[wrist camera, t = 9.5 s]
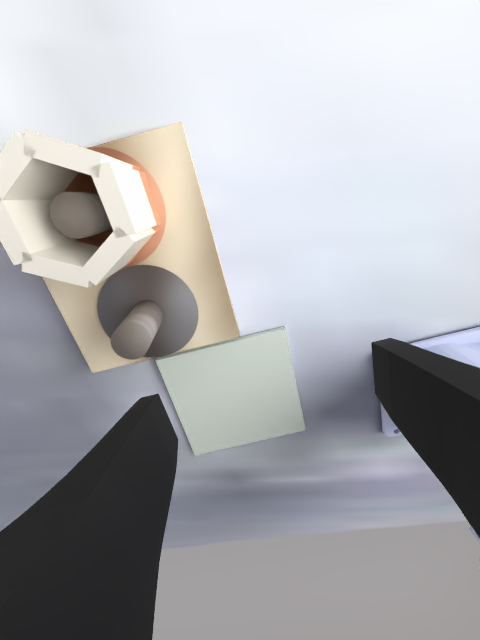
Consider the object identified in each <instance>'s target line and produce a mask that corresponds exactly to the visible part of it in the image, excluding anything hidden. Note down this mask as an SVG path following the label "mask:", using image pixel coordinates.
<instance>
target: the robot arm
mask: <svg viewBox="0 0 480 640" xmlns="http://www.w3.org/2000/svg"><path fill="white" fill-rule="evenodd" d="M372 356H373V369H374V382H375V393H376V395H377V397H378V399H379V400H380V404H381V419H382V431H383V433H384V435H385V436H386V437H393V436H397V435H402V434H403V435H404V437H405V438H406V439H407V440H408V442H409V443H410V444H411V445H412V447H413V448H414V449H415V451H416V452H417V453H418V454H419V456H420V457H421V458H422V459H423V461H424V462H425V463H426V464H427V466H428V467H429V468H430V469H431V471H432V472H433V473H434V474H435V476H436V477H437V478H438V479H439V481H440V482H441V483H442V484H443V486H444V487H445V488H446V490H447V491H448V493H449V494H450V495H451V497H452V498H453V499H454V501H455V502H456V504H457V505H458V507H459V508H460V510H461V511H462V513H463V514H464V516H465V517H466V519H467V520H468V522H469V523H470V525H471V526H470V528H469V529H470V530H471V532H472V533H473V534H474V535H475V537H476V538H477V540H478V541H479V542H480V327H477V328H472V329H468V330H464V331H460V332H456V333H451V334H447V335H443V336H439V337H435V338H430V339H426V340H422V341H418V342H414V343H410V344H408V343H405V342H402V341H399V340H396V339H392V338H388V339H384V340H380V341H376V342H372ZM395 429H396V430H395ZM177 450H178V438H177V436H176V433H175V431H174V429H173V426H172V424H171V422H170V420H169V417H168V415H167V413H166V410H165V408H164V406H163V403H162V401H161V399H160V396H159V394H155V395H151V396H147V397H143V398H140V399H139V400H138V401H137V402H136V403H135V404H134V405H133V406H132V407H131V408H130V409H129V410H128V411H127V412H126V413H125V414H124V416H123V417H122V418H121V419H120V420H119V421H118V422H117V423H116V424H115V425H114V426H113V427H112V429H111V430H110V431H109V432H108V433H107V434H106V435H105V436H104V437H103V438H102V439H101V440H100V441H99V442H98V444H97V445H96V446H95V447H94V448H93V449H92V450H91V451H90V452H89V453H88V454H87V455H86V456H85V457H84V458H83V459H82V460H81V461H80V462H79V463H78V464H77V465H76V466H75V467H74V468H73V469H72V470H71V471H70V472H69V473H68V474H67V475H66V476H65V477H64V478H63V479H61V480H60V481H59V482H58V483H57V484H56V485H55V486H54V487H53V488H52V489H51V490H50V491H48V492H47V493H46V494H45V495H44V496H43V497H42V498H40V499H39V500H38V501H37V502H36V503H35V504H34V505H32V506H31V507H30V508H29V509H28V510H27V511H26V512H24V513H23V514H22V515H21V516H20V517H18V518H17V519H16V520H15V521H13V522H12V523H11V524H10V525H8V526H7V527H6V528H4V529H3V530H2V531H1V532H0V640H152V633H153V622H154V610H155V599H156V590H157V580H158V570H159V561H160V554H161V548H162V542H163V537H164V532H165V527H166V521H167V516H168V511H169V506H170V501H171V495H172V490H173V485H174V479H175V473H176V466H177ZM479 569H480V559H479Z"/></svg>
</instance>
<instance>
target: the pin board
mask: <svg viewBox="0 0 480 640" xmlns="http://www.w3.org/2000/svg"><path fill="white" fill-rule="evenodd" d="M86 149H90V150H93V151H96V152H99V153H102V154H105V155H107V156H110V157H112V158H115V159H118V160H120V161H123V162H125V163H129V164H132V165H135V166H137V167H140V171H141V172H144V173H145V174H146V177H147V180H148V183H149V186H150V189H151V192H152V195H153V198H154V201H155V204H156V207H157V210H158V213H159V216H160V219H161V222H162V224H160V225H157V226H158V227H159V228H160V229H161V230H160V231H159V232H158V233H157V235H156V236H155V237H154V238H153V239H152V240H151V241H150V242H149V243H148V244H147V246H146V247H145V248H144V249H143V250H142V251H141V252H140V253H139V254H138V255H137V257H136V258H135V259H134V260H133V261H132V262H131V263H129V264H128V265H126V266H124V267H123V268H121V269H120V270H118V271H117V272H115V273H114V274H112V275H111V276H109V277H108V278H106V279H105V280H103V281H102V282H100V283H99V284H97V285H96V286H95V285H94V284H93V285H91V286H90V287H88V288H87V287H83V286H79V285H75V284H71V283H67V282H62V281H58V280H54V279H50V278H46V277H42V278H43V279H44V281H45V283H46V285H47V287H48V289H49V291H50V293H51V295H52V297H53V299H54V301H55V302H56V304H57V306H58V308H59V310H60V312H61V314H62V316H63V318H64V320H65V322H66V323H67V325H68V327H69V329H70V331H71V333H72V335H73V337H74V339H75V341H76V343H77V344H78V346H79V348H80V350H81V352H82V354H83V356H84V358H85V360H86V362H87V364H88V365H89V367H90V369H91V371H92V373H96V372H100V371H104V370H108V369H112V368H116V367H120V366H124V365H128V364H132V363H136V362H140V361H144V360H148V359H152V358H157V357H163V356H167V355H170V354H173V353H177V352H181V351H185V350H189V349H193V348H197V347H201V346H205V345H209V344H213V343H218V342H222V341H226V340H230V339H234V338H238V337H240V332H239V328H238V324H237V320H236V316H235V313H234V309H233V305H232V302H231V298H230V294H229V291H228V287H227V283H226V280H225V276H224V272H223V269H222V265H221V261H220V258H219V254H218V250H217V247H216V243H215V239H214V236H213V232H212V228H211V225H210V221H209V217H208V214H207V210H206V206H205V203H204V199H203V195H202V192H201V188H200V184H199V181H198V177H197V173H196V170H195V166H194V162H193V159H192V155H191V151H190V147H189V144H188V140H187V136H186V133H185V129H184V126H183V124H182V122H179V123H175V124H172V125H168V126H165V127H161V128H157V129H154V130H150V131H147V132H143V133H140V134H136V135H132V136H129V137H125V138H122V139H118V140H115V141H111V142H108V143H104V144H100V145H97V146H93V147H90V148H86ZM50 217H51V220H52V222H53V224H54V225H55V227H56V228H57V229H58V230H59V231H60V232H61V233H62V234H64V235H66V236H68V237H70V238H75V239H80V238H85V237H86V238H89V239H93V240H96V241H100V242H105V241H106V239H107V238H108V237H109V236H110V235H111V234H112V232H113V229H112V226H111V224H110V221H109V219H108V216H107V214H106V211H105V209H104V206H103V204H102V201H101V199H100V196H99V194H98V191H97V189H96V186H95V184H94V181H93V179H92V176H91V175H89V176H88V178H87V179H86V180H85V181H84V183H83V184H82V185H81V187H80V188H79V189H78V190H77V192H62V193H60V194H58V195H56V196H55V197H54V198H53V200H52V202H51V204H50Z"/></svg>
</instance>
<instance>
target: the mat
mask: <svg viewBox="0 0 480 640" xmlns="http://www.w3.org/2000/svg"><path fill="white" fill-rule="evenodd" d="M156 363H157V366H158V368H159V370H160V373H161V375H162V378H163V380H164V382H165V385H166V387H167V390H168V392H169V395H170V397H171V399H172V402H173V404H174V407H175V409H176V411H177V414H178V416H179V419H180V421H181V423H182V426H183V428H184V431H185V433H186V435H187V438H188V440H189V443H190V445H191V448H192V450H193V452H194V455H195V456H197V455H201V454H205V453H210V452H214V451H218V450H223V449H227V448H231V447H236V446H240V445H245V444H249V443H253V442H258V441H262V440H266V439H271V438H275V437H279V436H284V435H288V434H292V433H297V432H301V431H305V430H306V428H305V423H304V418H303V414H302V409H301V404H300V399H299V394H298V389H297V384H296V379H295V374H294V369H293V364H292V359H291V355H290V350H289V345H288V340H287V335H286V330H285V327H280V328H276V329H272V330H267V331H263V332H259V333H255V334H251V335H247V336H243V337H239V338H235V339H231V340H227V341H223V342H219V343H215V344H210V345H206V346H202V347H198V348H194V349H190V350H186V351H182V352H178V353H174V354H170V355H167V356H163V357H158V358H156Z"/></svg>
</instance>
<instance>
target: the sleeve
mask: <svg viewBox="0 0 480 640" xmlns="http://www.w3.org/2000/svg"><path fill="white" fill-rule="evenodd" d="M89 175H91V176H92V179H93V181H94V184H95V186H96V189H97V191H98V194H99V196H100V199H101V201H102V204H103V206H104V209H105V211H106V214H107V216H108V219H109V221H110V224H111V226H112V229H113V232H112V234H111V235H110V236H109V237H108V238H107V239H106V241H105V242H100V241H96V240H93V239H89V238H86V237H85V238H80V239H75V238H70V237H68V236H66V235H64V234H62V233H61V232H60V231H59V230H58V229H57V228H56V227H55V225H54V224H53V222H52V220H51V217H50V204H51V202H52V200H53V198H54V197H55V196H56V195H58V194H60V193H62V192H77V190H78V189H79V188H80V187H81V185H82V184H83V183H84V181H85V180H86V179H87V178H88V176H89ZM160 224H162V222H161V219H160V216H159V213H158V210H157V207H156V204H155V201H154V198H153V195H152V192H151V189H150V186H149V183H148V180H147V177H146V174H145V173H144V172H141V171H140V167H137V166H135V165H132V164H129V163H125V162H123V161H120V160H118V159H115V158H112V157H110V156H107V155H105V154H102V153H99V152H96V151H93V150H90V149H86V148H83V147H80V146H77V145H74V144H71V143H67V142H64V141H61V140H58V139H55V138H52V137H48V136H45V135H42V134H39V133H36V132H33V131H29V130H26V129H24V134H21V133H18V132H14V134H13V135H12V137H11V138H10V139H9V141H8V142H7V144H6V145H5V147H4V148H3V150H2V151H1V153H0V241H1V243H2V245H3V247H4V248H5V250H6V252H7V254H8V256H9V257H10V259H11V261H12V263H13V265H18V264H21V263H22V272H26V273H30V274H34V275H38V276H42V277H46V278H50V279H54V280H58V281H62V282H67V283H71V284H75V285H79V286H83V287H87V288H88V287H90V286H91V285H93V284H94V285H95V286H96V285H97V284H99V283H100V282H102V281H103V280H105V279H106V278H108V277H109V276H111V275H112V274H114V273H115V272H117V271H118V270H120V269H121V268H123V267H124V266H126V265H128V264H129V263H131V262H132V261H133V260H134V259H135V258H136V257H137V255H138V254H139V253H140V252H141V251H142V250H143V249H144V248H145V247H146V246H147V244H148V243H149V242H150V241H151V240H152V239H153V238H154V237H155V236H156V235H157V233H158V232H159V231H160V230H161V229H160V228H159V227H158V226H157V225H160Z"/></svg>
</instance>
